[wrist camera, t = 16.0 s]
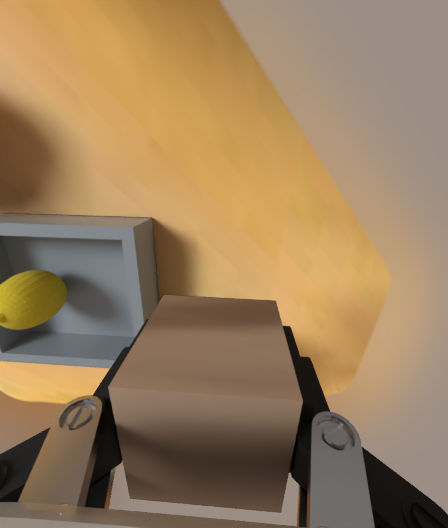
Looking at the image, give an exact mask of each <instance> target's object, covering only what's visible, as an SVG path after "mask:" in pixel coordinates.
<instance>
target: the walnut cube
mask: <svg viewBox="0 0 448 528" xmlns="http://www.w3.org/2000/svg"><path fill="white" fill-rule="evenodd" d="M108 389H109V394H110V399H111V404H112V409H113V414H114V419H115V424H116V429H117V434H118V440H119V445H120V450H121V455H122V460H123V465H124V469H125V475H126V480H127V485H128V490H129V495H130V498H131V499H139V500H150V501H161V502H171V503H183V504H193V505H203V506H214V507H226V508H235V509H246V510H257V511H267V512H279V513H280V512H281V509H282V504H283V499H284V494H285V489H286V484H287V479H288V473H289V469H290V464H291V459H292V454H293V449H294V444H295V439H296V433H297V428H298V423H299V418H300V413H301V408H302V403H303V399H302V396H301V392H300V388H299V385H298V381H297V377H296V374H295V370H294V366H293V363H292V359H291V355H290V352H289V348H288V344H287V340H286V337H285V333H284V329H283V326H282V322H281V318H280V315H279V311H278V307H277V304H276V301H272V300H253V299H234V298H215V297H196V296H177V295H164V296H163V297H162V299H161V300H160V302H159V304H158V305H157V307H156V309H155V310H154V312H153V314H152V315H151V317H150V319H149V320H148V322H147V324H146V325H145V327H144V329H143V330H142V332H141V334H140V335H139V337H138V338H137V340H136V342H135V343H134V345H133V347H132V348H131V350H130V352H129V353H128V355H127V357H126V358H125V360H124V362H123V363H122V365H121V367H120V368H119V370H118V372H117V373H116V375H115V376H114V378H113V380H112V381H111V383H110V385H109V386H108Z"/></svg>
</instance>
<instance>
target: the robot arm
mask: <svg viewBox="0 0 448 528" xmlns="http://www.w3.org/2000/svg"><path fill="white" fill-rule="evenodd" d="M148 320H149V319H147V320H146V321H145V322H144V324H143V326H142V327H141V329H140V330H139V332H138V334H137V335H136V337H135V338H134V340H133V342H132V343H131V345H130V346H129V347H125V348H124V349H123V350H122V351H121V353H120V354H119V356H118V357H117V359H116V360H115V362H114V363H113V365H112V367H111V368H110V370H109V371H108V373H107V374H106V376H105V377H104V379H103V380H102V382H101V383H100V385H99V386H98V388H97V390H96V391H95V393H94V394H93V396H92V395H90V396H82V397H78V398H76V399H74V400H72V401H70V402H69V403H67V404H66V405H65V406H64V407H63V408H62V409H61V410H60V411H59V412H58V414H57V415H56V417H55V419H54V421H53V423H52V425H51V427H50V428H48V429H46V430H45V431H42V432H41V433H39V434H37V435H35V436H33V437H32V438H30V439H28V440H26V441H24V442H22V443H20V444H19V445H17V446H15V447H13V448H11V449H9V450H7V451H6V452H4V453H2V454H0V528H448V515H447V514H446V512H445V511H444V510H443V509H442V508H441V507H439V506H438V505H437V504H436V503H435V502H434V501H432V500H431V499H430V498H428V497H427V496H426V495H424V494H423V493H422V492H421V491H419V490H418V489H417V488H415V487H414V486H413V485H411V484H410V483H409V482H408V481H406V480H405V479H404V478H402V477H401V476H400V475H398V474H397V473H396V472H394V471H393V470H392V469H390V468H389V467H388V466H386V465H385V464H384V463H382V462H381V461H380V460H379V459H377V458H376V457H375V456H373V455H372V454H371V453H369V452H368V451H367V450H365V449H364V448H363V447H362V446H361V440H360V437H359V434H358V432H357V430H356V429H355V427H354V426H353V425H352V424H351V423H350V422H349V421H348V420H347V419H346V418H344V417H343V416H341V415H339V414H336V413H334V412H330V410H329V407H328V405H327V402H326V399H325V396H324V394H323V391H322V388H321V386H320V383H319V380H318V378H317V375H316V372H315V370H314V367H313V364H312V361H311V359H310V358H309V357H300V355H299V351H298V348H297V345H296V342H295V339H294V336H293V333H292V330H291V327H290V326H283V329H284V333H285V337H286V340H287V344H288V348H289V352H290V355H291V359H292V363H293V366H294V370H295V374H296V377H297V381H298V385H299V388H300V392H301V396H302V399H303V403H302V408H301V413H300V418H299V423H298V428H297V433H296V439H295V444H294V449H293V454H292V459H291V464H290V469H289V473H291V475H292V478H294V480H295V481H296V482H297V483H298V484H299V495H298V513H297V526H286V525H276V524H266V523H256V522H245V521H235V520H224V519H214V518H202V517H191V516H181V515H170V514H159V513H147V512H137V511H125V510H113V509H109V504H110V498H111V492H112V486H113V480H114V474H115V467H116V466H118V465H119V464H120V463H121V462H122V455H121V450H120V445H119V440H118V434H117V429H116V424H115V419H114V414H113V409H112V404H111V399H110V394H109V389H108V386H109V385H110V383H111V381H112V380H113V378H114V376H115V375H116V373H117V372H118V370H119V368H120V367H121V365H122V363H123V362H124V360H125V358H126V357H127V355H128V353H129V352H130V350H131V348H132V347H133V345H134V343H135V342H136V340H137V338H138V337H139V335H140V334H141V332H142V330H143V329H144V327H145V325H146V324H147V322H148Z"/></svg>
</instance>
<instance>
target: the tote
mask: <svg viewBox="0 0 448 528" xmlns="http://www.w3.org/2000/svg"><path fill="white" fill-rule="evenodd" d="M30 270H44V271H49V272H52V273H54V274H56V275H57V276H59V277H60V278H61V279H62V280H63V282H64V283H65V285H66V288H67V298H66V301H65V303H64V305H63V307H62V308H61V310H60V311H59V312H58V313H57V314H55V315H54V316H53V317H52V318H51V319H49V320H47V321H46V322H44V323H42V324H39V325H37V326H34V327H32V328H28V329H20V330H16V329H9V328H6V327H3V326H1V325H0V361H7V362H22V363H37V364H52V365H67V366H82V367H97V368H111V367H112V365H113V363H114V362H115V360H116V359H117V357H118V356H119V354H120V353H121V351H122V350H123V349H124V348H125V347H129V346H130V345H131V343H132V342H133V340H134V338H135V337H136V335H137V334H138V332H139V330H140V329H141V327H142V326H143V324H144V322H145V321H146V320H147V319H150V317H151V315H152V314H153V312H154V310H155V309H156V307H157V305H158V304H159V292H158V280H157V268H156V257H155V245H154V233H153V221H152V218H149V217H116V216H84V215H51V214H19V213H0V285H1V284H2V283H3V282H5V281H6V280H7V279H9V278H11V277H12V276H14V275H17V274H19V273H23V272H26V271H30Z"/></svg>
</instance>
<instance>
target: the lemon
mask: <svg viewBox="0 0 448 528" xmlns="http://www.w3.org/2000/svg"><path fill="white" fill-rule="evenodd" d="M66 298H67V288H66V285H65V283H64V282H63V280H62V279H61V278H60V277H59V276H57V275H56V274H54V273H52V272H49V271H44V270H30V271H26V272H23V273H19V274H17V275H14V276H12V277H11V278H9V279H7V280H6V281H5V282H3V283H2V284H1V285H0V325H1V326H3V327H6V328H9V329H16V330H20V329H28V328H32V327H34V326H37V325H39V324H42V323H44V322H46V321H47V320H49V319H51V318H52V317H53V316H54V315H55V314H57V313H58V312H59V311H60V310H61V308H62V307H63V305H64V303H65V301H66Z"/></svg>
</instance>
